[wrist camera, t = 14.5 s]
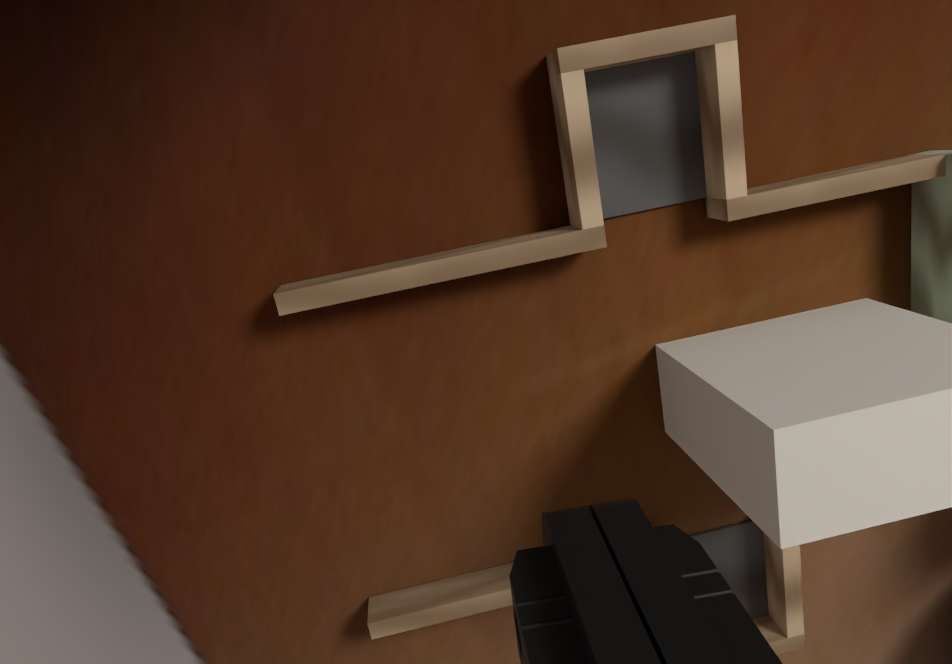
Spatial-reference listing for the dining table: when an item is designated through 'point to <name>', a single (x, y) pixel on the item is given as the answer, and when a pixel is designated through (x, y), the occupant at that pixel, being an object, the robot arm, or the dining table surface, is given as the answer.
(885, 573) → the dining table surface
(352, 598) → the dining table surface
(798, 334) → the block
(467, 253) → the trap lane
